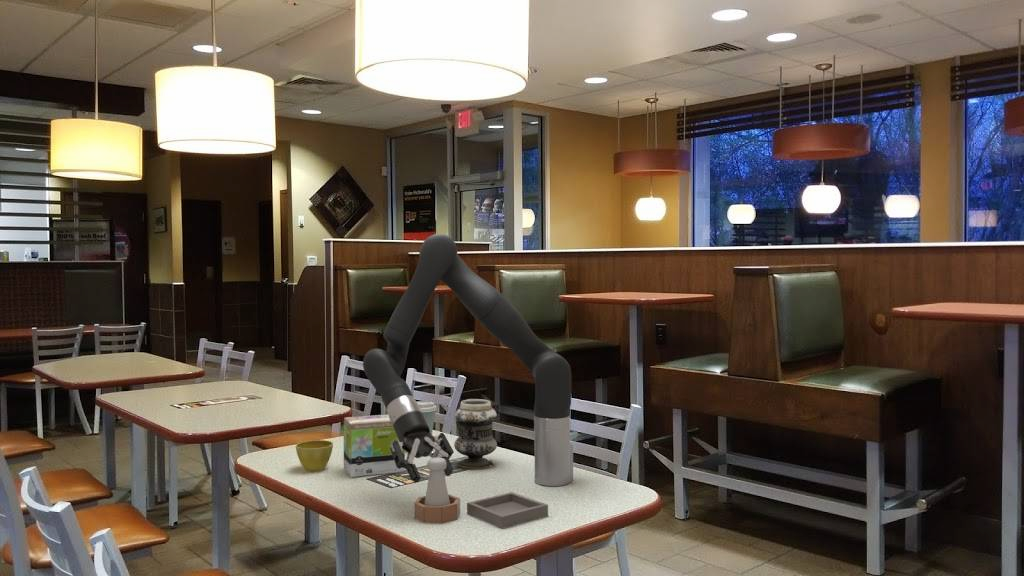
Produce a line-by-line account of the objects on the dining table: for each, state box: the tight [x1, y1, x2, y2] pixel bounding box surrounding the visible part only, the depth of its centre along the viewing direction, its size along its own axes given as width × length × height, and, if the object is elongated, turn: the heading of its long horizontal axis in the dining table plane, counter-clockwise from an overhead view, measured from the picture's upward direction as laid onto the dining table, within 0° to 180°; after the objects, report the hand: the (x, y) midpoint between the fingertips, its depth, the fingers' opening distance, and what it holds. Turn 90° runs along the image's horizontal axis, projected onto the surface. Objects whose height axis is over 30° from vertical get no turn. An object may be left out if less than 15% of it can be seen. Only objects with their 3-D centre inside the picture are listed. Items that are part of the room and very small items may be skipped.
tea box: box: [343, 414, 406, 478], centre depth 215 cm, size 15×10×15 cm, turn 114°
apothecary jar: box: [453, 398, 498, 470], centre depth 221 cm, size 12×12×18 cm
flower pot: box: [295, 439, 334, 473], centre depth 217 cm, size 10×10×7 cm
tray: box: [466, 491, 549, 529], centre depth 176 cm, size 13×13×2 cm
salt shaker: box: [424, 457, 450, 506], centre depth 176 cm, size 6×6×13 cm
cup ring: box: [413, 493, 461, 524], centre depth 176 cm, size 10×10×4 cm
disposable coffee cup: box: [416, 401, 437, 435], centre depth 238 cm, size 11×11×15 cm
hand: (434, 477), depth 177 cm, fingers open, 8 cm apart
